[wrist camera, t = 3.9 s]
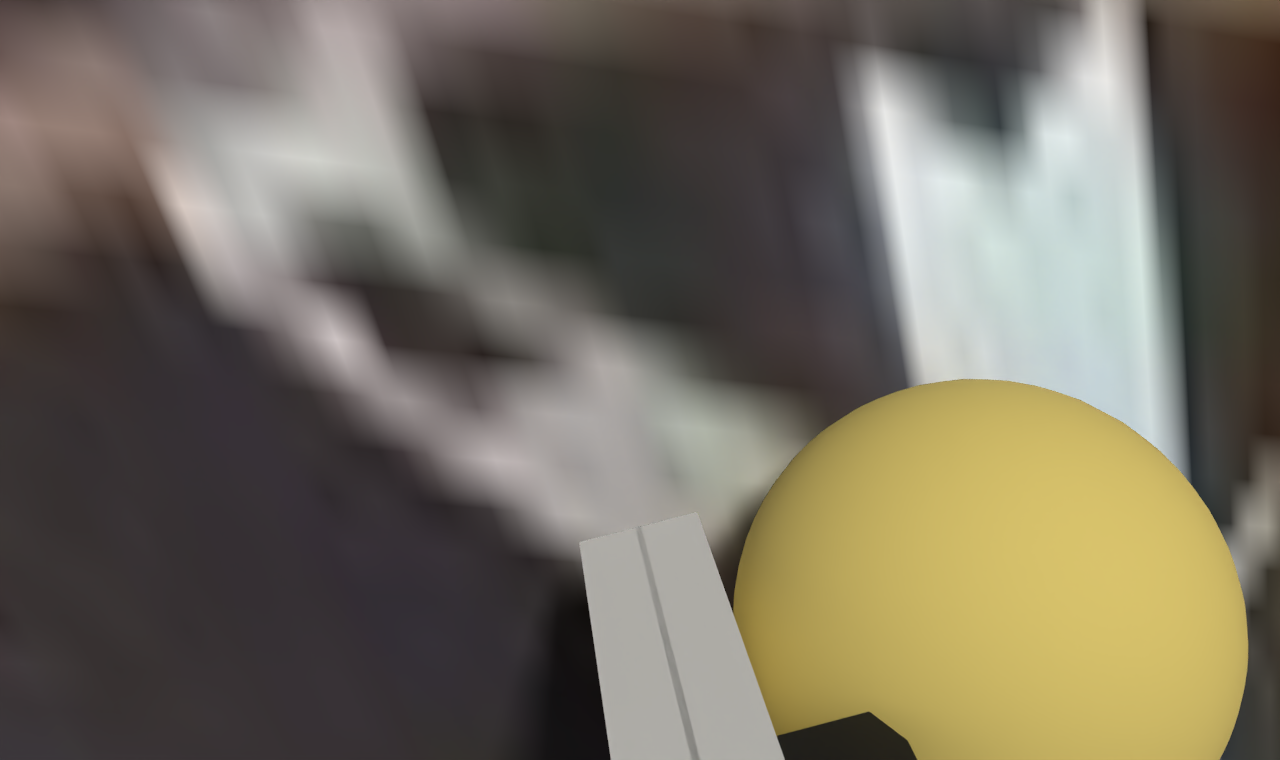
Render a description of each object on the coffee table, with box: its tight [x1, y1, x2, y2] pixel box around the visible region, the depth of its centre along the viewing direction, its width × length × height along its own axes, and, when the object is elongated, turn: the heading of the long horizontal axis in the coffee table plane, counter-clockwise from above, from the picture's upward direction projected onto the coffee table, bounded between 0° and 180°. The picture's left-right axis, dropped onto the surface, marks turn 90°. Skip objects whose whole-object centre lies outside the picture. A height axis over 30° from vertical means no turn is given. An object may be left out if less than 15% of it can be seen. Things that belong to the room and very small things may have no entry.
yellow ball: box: [733, 379, 1248, 760], centre depth 13 cm, size 6×6×6 cm
